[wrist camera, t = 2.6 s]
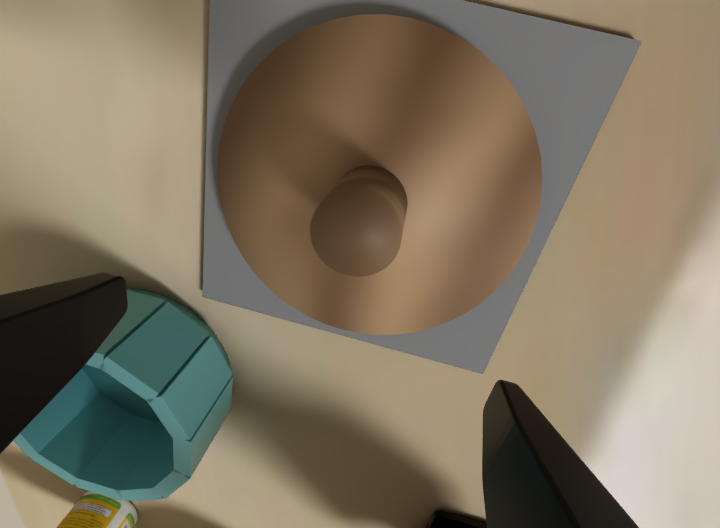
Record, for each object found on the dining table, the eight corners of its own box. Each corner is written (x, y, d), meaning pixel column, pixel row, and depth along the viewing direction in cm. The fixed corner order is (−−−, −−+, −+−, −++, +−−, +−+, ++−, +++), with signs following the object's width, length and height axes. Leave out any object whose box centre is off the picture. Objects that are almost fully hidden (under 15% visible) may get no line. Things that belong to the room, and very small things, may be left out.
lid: (601, 63, 15) (667, 61, 11) (472, 355, 22) (481, 423, 18) (232, -21, 16) (160, -52, 12) (220, 287, 23) (172, 337, 19)
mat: (637, 41, 15) (642, 41, 15) (482, 369, 23) (482, 374, 23) (215, -55, 16) (210, -58, 16) (205, 293, 24) (202, 296, 23)
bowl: (244, 311, 24) (191, 380, 19) (233, 440, 30) (190, 521, 24) (61, 260, 25) (-42, 313, 19) (84, 396, 30) (9, 466, 25)
